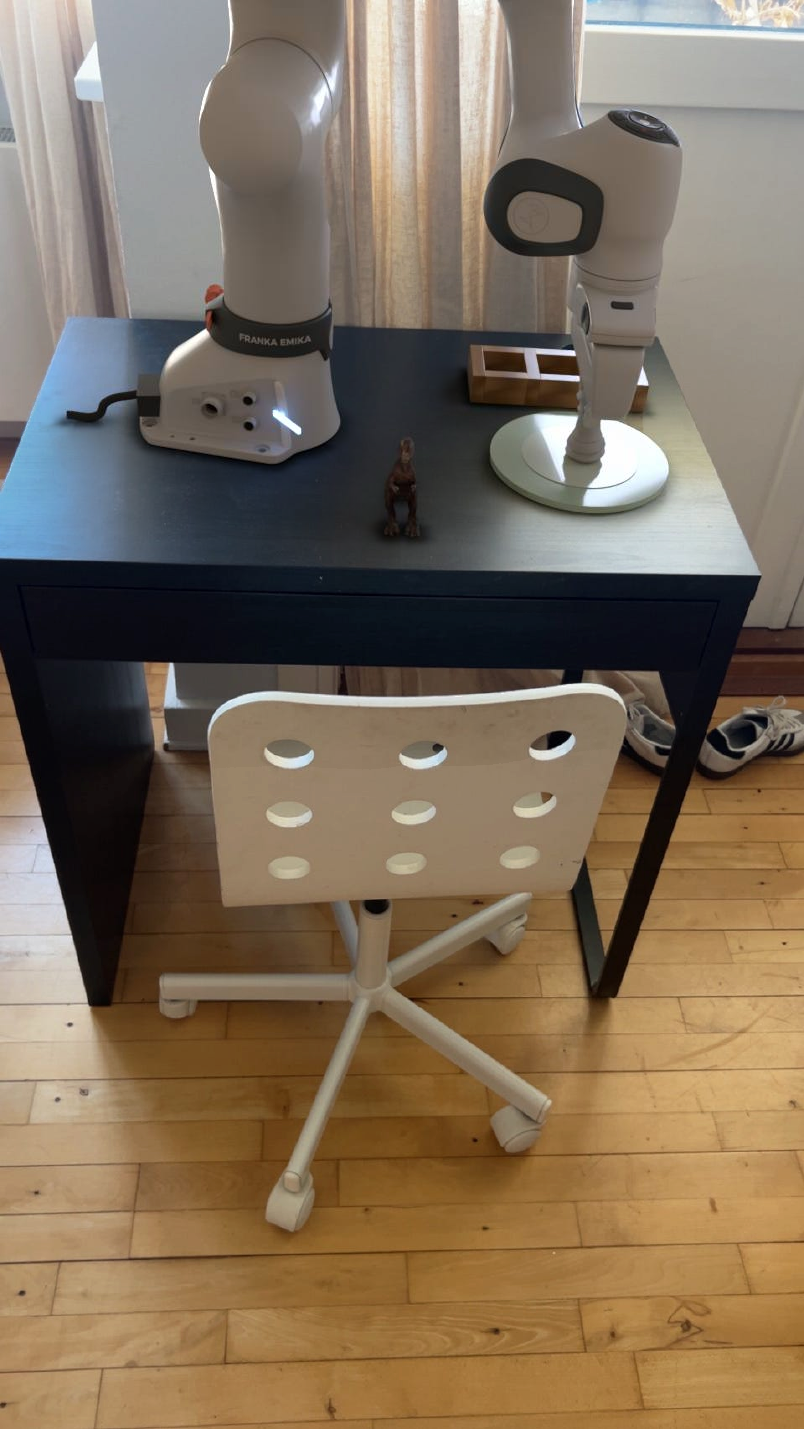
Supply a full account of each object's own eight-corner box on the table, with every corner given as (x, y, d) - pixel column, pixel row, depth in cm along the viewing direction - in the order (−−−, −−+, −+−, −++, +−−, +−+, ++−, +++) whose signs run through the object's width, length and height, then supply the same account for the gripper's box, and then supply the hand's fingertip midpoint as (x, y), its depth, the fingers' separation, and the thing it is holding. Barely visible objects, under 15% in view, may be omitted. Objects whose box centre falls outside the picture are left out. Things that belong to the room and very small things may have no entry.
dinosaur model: (393, 445, 108) (390, 377, 119) (380, 553, 115) (378, 479, 127) (436, 449, 108) (428, 380, 119) (420, 556, 116) (415, 482, 127)
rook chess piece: (557, 456, 129) (564, 390, 123) (576, 439, 131) (583, 373, 126) (593, 468, 127) (602, 402, 121) (611, 450, 130) (621, 385, 124)
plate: (494, 511, 122) (496, 500, 121) (484, 415, 137) (485, 405, 136) (681, 521, 123) (684, 511, 122) (651, 425, 138) (653, 415, 137)
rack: (470, 402, 139) (473, 375, 137) (467, 370, 145) (470, 344, 142) (643, 412, 140) (649, 386, 138) (633, 380, 146) (639, 354, 143)
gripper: (569, 247, 124) (549, 368, 133) (593, 334, 109) (569, 463, 118) (627, 251, 124) (604, 371, 133) (659, 338, 109) (630, 466, 119)
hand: (587, 415), depth 126 cm, fingers closed on rook chess piece, 3 cm apart
